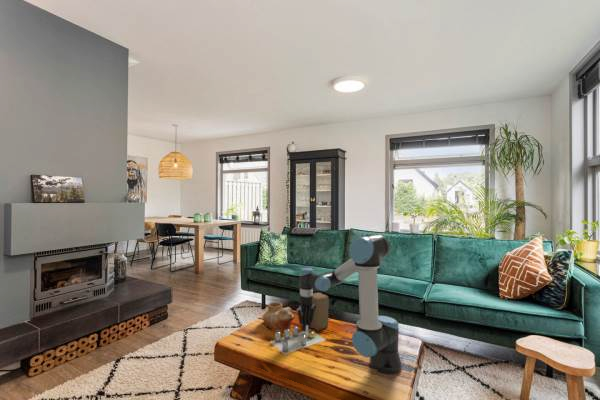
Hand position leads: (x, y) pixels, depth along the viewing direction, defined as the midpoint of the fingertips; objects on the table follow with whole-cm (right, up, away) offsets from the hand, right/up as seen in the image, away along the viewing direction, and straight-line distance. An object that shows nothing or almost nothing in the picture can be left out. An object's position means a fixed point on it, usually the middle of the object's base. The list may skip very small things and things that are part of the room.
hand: (305, 335), depth 168 cm
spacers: (-9, -1, -6) cm, 10 cm away
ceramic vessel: (-17, -2, +15) cm, 23 cm away
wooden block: (+8, -3, +18) cm, 20 cm away
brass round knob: (+3, -1, +2) cm, 4 cm away
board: (-4, -2, -3) cm, 6 cm away
